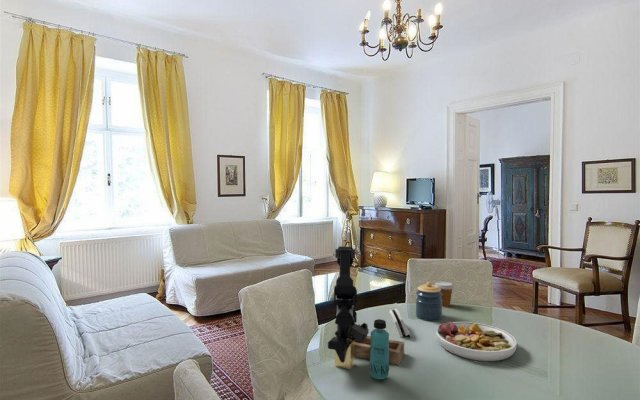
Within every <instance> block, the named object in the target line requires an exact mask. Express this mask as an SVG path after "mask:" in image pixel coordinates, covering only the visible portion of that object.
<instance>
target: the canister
mask: <svg viewBox="0 0 640 400" xmlns="http://www.w3.org/2000/svg"><path fill="white" fill-rule="evenodd" d="M416 289H417V290H416V291H415V294H416V297H415V317H416V318H417V319H420V320H423V321H428V322H434V321H435V322H436V321H440V320H442V319H443V307H442V302H443V301H442V298H441V297H442V295H443V294H442V293H441V292H440V291H441V289H440V288H438V287H437V286H435V284H432V282H431V281H427V282H426V283H424V284H420V285H419V286H418V287H417V288H416Z"/></svg>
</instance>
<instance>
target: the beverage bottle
mask: <svg viewBox="0 0 640 400" xmlns="http://www.w3.org/2000/svg"><path fill="white" fill-rule="evenodd" d="M373 322H374V323H373V328H375V329H373V330H372V331H370V336H371V346H370V359H369V374H370V376H371V377H372V378H374V379H378V380H383V379H386V378H388V377H389V372H390V363H389V340H390V333H389V332H388V331H387V330H386V328H387V321H386V320H385V319H381V318H380V319H375V320H374V321H373Z"/></svg>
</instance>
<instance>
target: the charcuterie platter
mask: <svg viewBox="0 0 640 400" xmlns="http://www.w3.org/2000/svg"><path fill="white" fill-rule="evenodd" d="M435 334H436V335H435V336H436V339H437V341H438V343H439V345H441V346H442V347H443V348H444V349H445V350H447V351H448V352H450V353H451V354H454V355H456V356H458V357H461V358H465V359H468V360H473V361H474V360H475V361H480V362H495V361H496V362H497V361H502V360H506V359H508V358H510V357H511V356H513V355H514V354H515V352H516V350H517V345H518V343H517V340H516V338H515V336H514V335H512V334H511V333H510V332H507V331H506V330H504V329H501V328H499V327H496V326H492V325H489V324H485V323H479V322H470V321H454V322H452V321H447V322H442V323H440V324H439V326H438V327H437V328H436V332H435Z"/></svg>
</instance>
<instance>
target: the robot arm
mask: <svg viewBox="0 0 640 400" xmlns="http://www.w3.org/2000/svg"><path fill="white" fill-rule="evenodd" d="M334 254H335V255H334V256H335V259H336V262H337V264H338V265H339V277H337V278H336V285H334V288H333V289H334V290H333V305H334V306H336V309H335V320H334V324H335V325H336V331H335V332H334V335H335V336H336V337H335V336H333V337H332V338H330V340H328V342H327V349H328V350H334V352H335V351H336V353H337V355H338V357H339V359H340V361H341V362H342V363H344V360H345V353H346V349H347V348H348V347H349V346H350V345H348V340H347V339H353V340H355V339H357V340H359V342H364V340H365V339H366V337H367V336H368V334H369V333H370V331H369V330H370V329H369V328H368V326H369V325H368V323H366V322H362V324H357V321H358V319H357V316H358V313H357V312H356V309H354V306H356V303H357V302H358V289H357V287H356V286H355V285H354V280H353V278H352V276H351V267H352V265H353V264H354V259H355V258H356V248H353V246H342V245H341V246H338V248H335V251H334Z"/></svg>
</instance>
